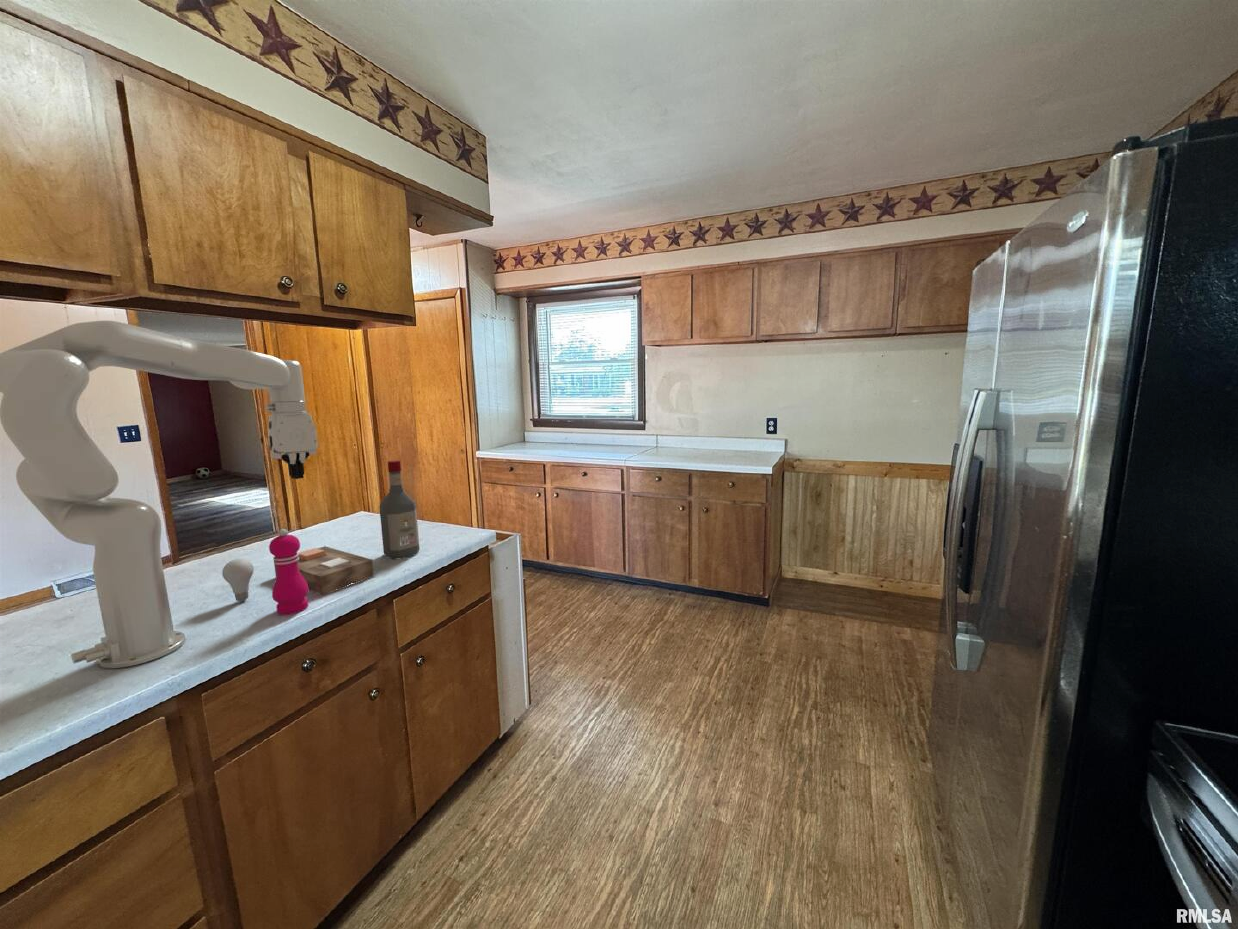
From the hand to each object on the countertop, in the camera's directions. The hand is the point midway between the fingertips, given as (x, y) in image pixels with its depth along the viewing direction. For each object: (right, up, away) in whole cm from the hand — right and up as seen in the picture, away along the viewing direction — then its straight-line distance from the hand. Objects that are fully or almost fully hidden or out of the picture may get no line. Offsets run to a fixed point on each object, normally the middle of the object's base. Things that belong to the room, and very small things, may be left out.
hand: (297, 478), depth 128 cm
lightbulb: (-9, -31, -7) cm, 33 cm away
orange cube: (-3, -26, +11) cm, 29 cm away
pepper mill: (+7, -32, -12) cm, 34 cm away
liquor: (+16, -25, +27) cm, 40 cm away
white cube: (+8, -28, +5) cm, 29 cm away
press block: (+2, -28, +8) cm, 29 cm away
